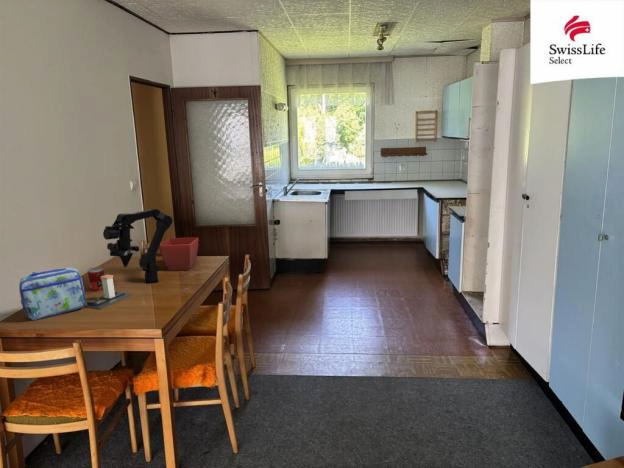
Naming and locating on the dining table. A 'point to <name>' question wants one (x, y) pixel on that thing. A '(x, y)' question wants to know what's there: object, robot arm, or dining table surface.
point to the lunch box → (51, 292)
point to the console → (106, 300)
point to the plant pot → (179, 253)
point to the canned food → (95, 278)
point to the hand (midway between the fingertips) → (125, 266)
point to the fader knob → (108, 286)
